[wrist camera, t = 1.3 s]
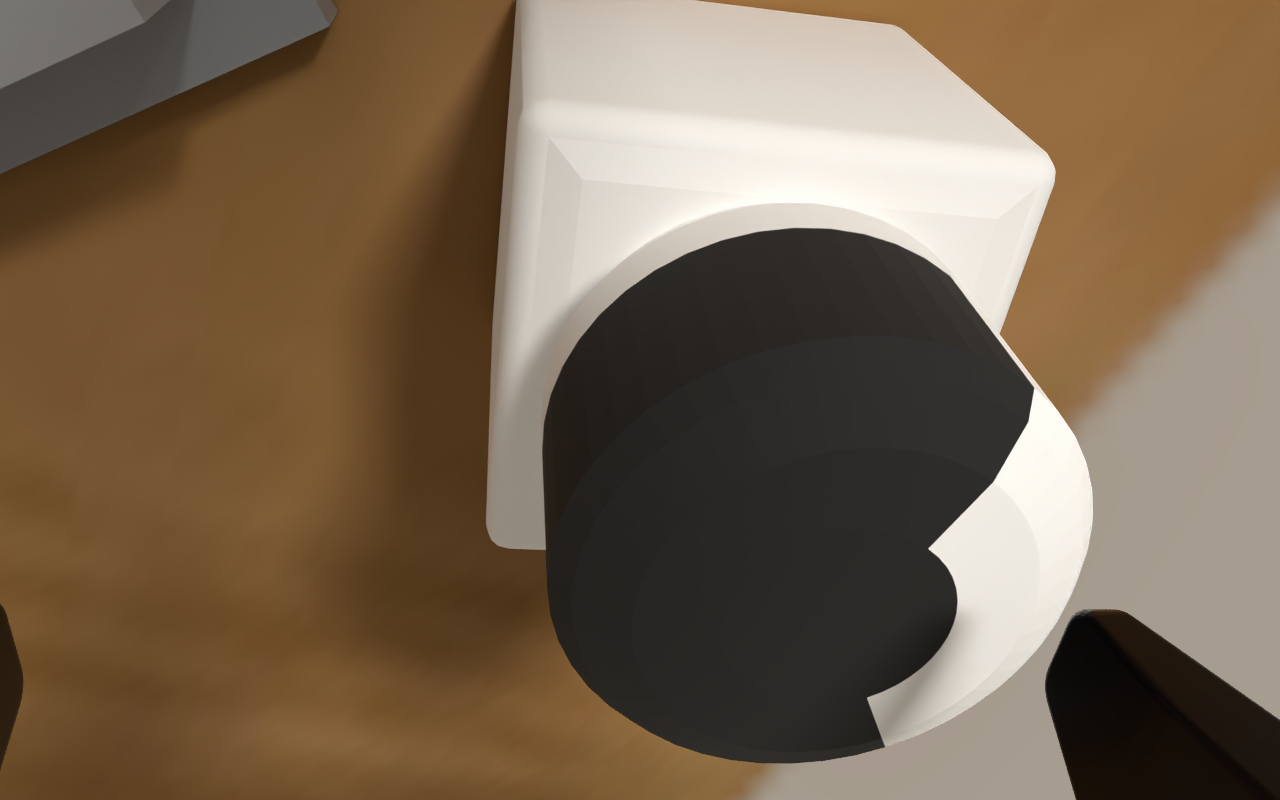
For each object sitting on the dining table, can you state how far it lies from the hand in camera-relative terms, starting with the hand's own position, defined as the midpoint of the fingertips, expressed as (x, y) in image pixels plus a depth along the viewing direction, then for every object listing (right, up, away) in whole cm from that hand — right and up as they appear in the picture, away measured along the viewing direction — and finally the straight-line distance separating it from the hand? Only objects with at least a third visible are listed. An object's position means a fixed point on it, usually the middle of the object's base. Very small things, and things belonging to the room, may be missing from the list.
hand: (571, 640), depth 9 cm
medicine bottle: (+1, +6, +12) cm, 14 cm away
